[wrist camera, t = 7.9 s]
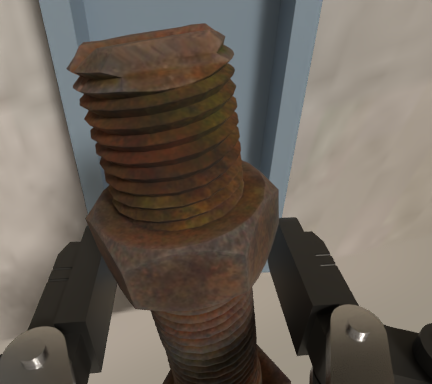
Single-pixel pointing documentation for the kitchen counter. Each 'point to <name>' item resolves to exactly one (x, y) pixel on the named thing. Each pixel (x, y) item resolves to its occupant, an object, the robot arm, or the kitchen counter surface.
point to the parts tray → (242, 62)
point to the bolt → (180, 197)
